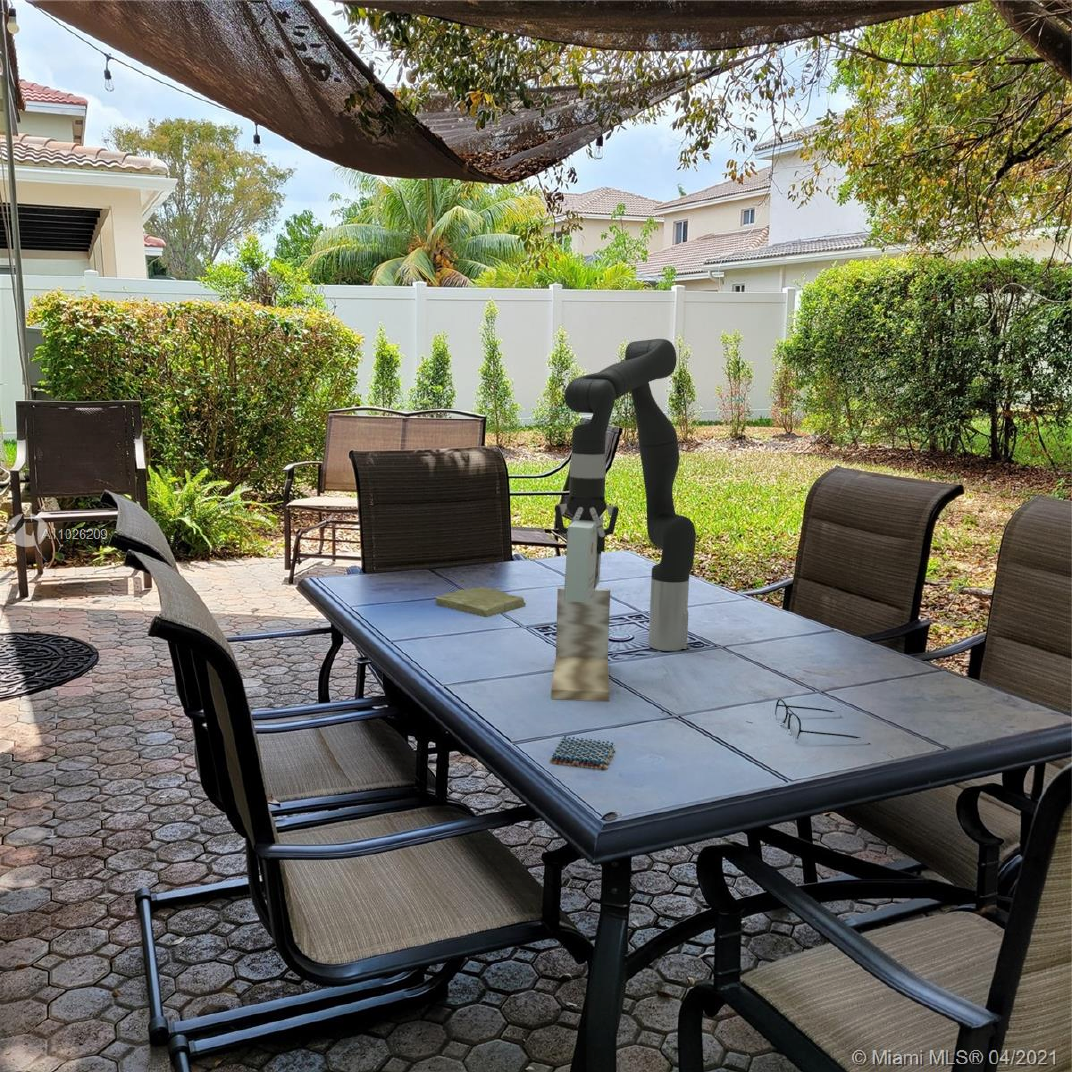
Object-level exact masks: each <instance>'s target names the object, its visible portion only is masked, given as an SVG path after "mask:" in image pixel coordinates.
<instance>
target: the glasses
mask: <svg viewBox="0 0 1072 1072" xmlns="http://www.w3.org/2000/svg"><path fill="white" fill-rule="evenodd" d="M779 702H782V704H779ZM778 707H783V708H784V707H785V718H784V720H783V721H782V723H784V724H785V723H787V730H788V729H790V730H791V718H792V715H793V716H795V717H796V719H797V721H798V734H797V738H796V739H798V740H799V737H800V735H801V733H807V734H808V733H809V734H816V735H824V736H835V737H837V736H838V737H845V738H853V739H857V738H861V737H860V736H856V735H849V734H841V733H840V734H839V733H831V732H830V733H829V732H821V731H813V730H812V731H810V730H803V729H802V722H801V718H800V717H799V716H798V715H797V714H796V713H794V712H793V711H792V710H791V709H790V708H794V709H800V710H801V709H804V710H813V711H822V712H827V713H832V712H835V711H834V710H831V709H824V708H823V709H822V708H815V707H809V706H808V707H805V706H798V705H795V706H794V705H787V704H786V702H785V701H784V700H783V699H781V698H779V699H777V702H776V705H775V710H774V713H775V715H776V716H777V709H778ZM775 715H774V716H775Z"/></svg>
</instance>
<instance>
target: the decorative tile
mask: <svg viewBox="0 0 1072 1072" xmlns="http://www.w3.org/2000/svg"><path fill="white" fill-rule="evenodd" d="M524 599H525V598H524V597H523V596H518V595H517V596H516V595H511V594H508V593H506V592H504V591H501V590H500V589H497V588H496V589H494V588H492V589H491V588H488V587H480V586H478V587H473V588H469V589H458V590H456V591H454V592H447V593H445V594H442V595H440V596H436V597H435V605H436V606H438V605H439V607H443V608H446V607H447V608H446V609H450V608H451V610H454V609H455V611H458V610H459V611H458V612H463V613H467V612H469V613H468V614H471V613H473V614H472V615H475V614H476V616H479V615H480V616H479V617H483V618H489V617H493V615H494V616H496V614H497V615H500V614H499V613H501V614H503V613H502V612H504V613H507V612H512V611H515V610H518V609H521V608H525V607H526V604H527V603H526V602H525V600H524Z"/></svg>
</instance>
